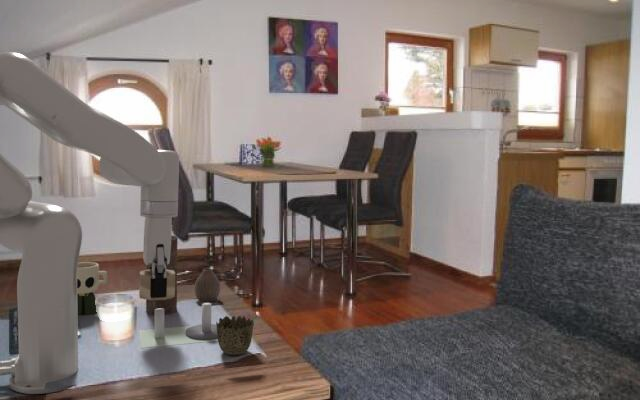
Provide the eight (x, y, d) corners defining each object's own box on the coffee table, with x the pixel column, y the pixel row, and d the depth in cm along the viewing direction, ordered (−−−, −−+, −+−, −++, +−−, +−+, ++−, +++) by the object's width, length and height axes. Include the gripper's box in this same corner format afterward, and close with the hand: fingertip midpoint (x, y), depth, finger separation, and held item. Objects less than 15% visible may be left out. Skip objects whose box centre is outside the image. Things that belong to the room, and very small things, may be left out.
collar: (140, 300, 112) (140, 276, 112) (138, 292, 119) (139, 269, 118) (175, 299, 115) (176, 275, 114) (172, 291, 121) (172, 268, 121)
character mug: (57, 324, 129) (57, 269, 127) (59, 315, 135) (58, 263, 134) (108, 319, 133) (107, 266, 132) (106, 311, 139) (106, 260, 138)
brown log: (178, 320, 134) (179, 238, 132) (147, 322, 132) (147, 239, 130) (174, 310, 141) (175, 233, 139) (144, 313, 139) (145, 234, 137)
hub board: (141, 355, 112) (141, 316, 111) (138, 336, 122) (138, 301, 121) (231, 346, 118) (232, 309, 117) (222, 329, 128) (222, 296, 128)
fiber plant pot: (245, 368, 107) (246, 328, 106) (209, 364, 108) (210, 325, 107) (257, 354, 114) (258, 317, 113) (224, 351, 115) (224, 313, 114)
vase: (193, 298, 154) (193, 267, 153) (218, 296, 156) (218, 266, 155) (195, 305, 147) (195, 272, 146) (221, 303, 149) (222, 271, 148)
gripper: (138, 204, 122) (136, 283, 123) (142, 213, 106) (140, 304, 107) (173, 205, 125) (171, 282, 126) (182, 213, 108) (179, 302, 110)
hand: (156, 292), depth 116 cm, fingers closed on collar, 7 cm apart
